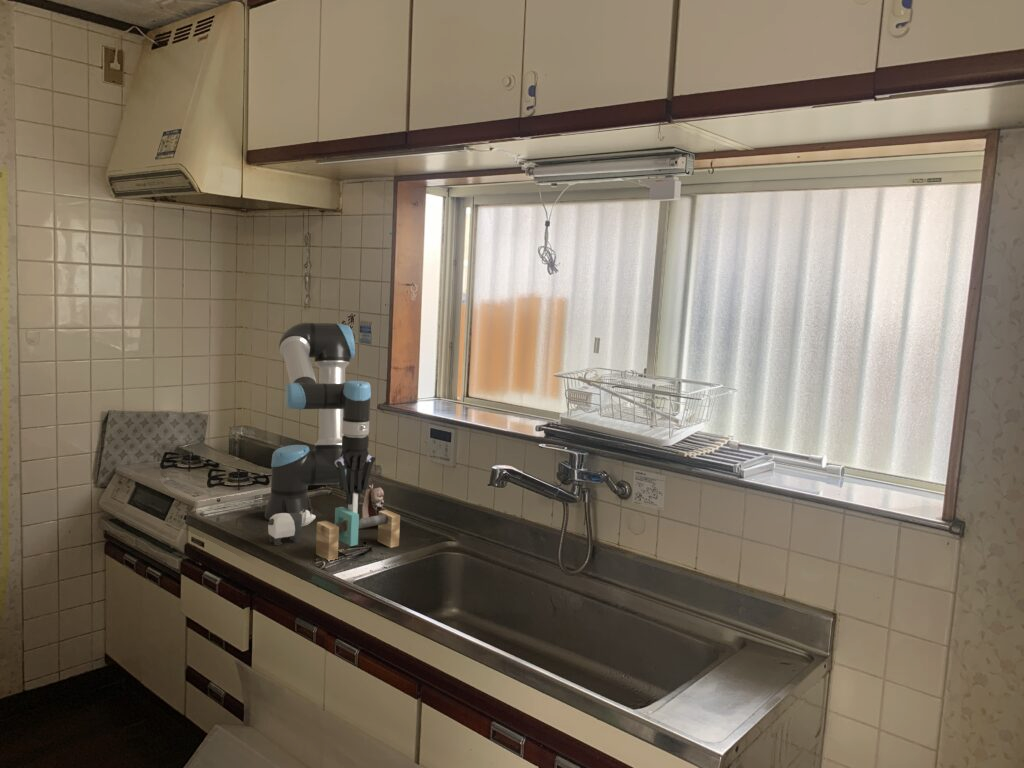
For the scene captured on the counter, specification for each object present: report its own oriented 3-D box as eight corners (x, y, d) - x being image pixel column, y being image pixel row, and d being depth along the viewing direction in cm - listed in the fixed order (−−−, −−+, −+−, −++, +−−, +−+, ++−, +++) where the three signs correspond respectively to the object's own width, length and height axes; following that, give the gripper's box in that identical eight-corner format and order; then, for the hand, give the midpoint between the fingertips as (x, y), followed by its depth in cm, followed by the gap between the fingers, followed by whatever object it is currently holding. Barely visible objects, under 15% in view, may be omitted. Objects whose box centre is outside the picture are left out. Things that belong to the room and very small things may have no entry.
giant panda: (272, 547, 227) (273, 515, 226) (264, 541, 231) (265, 510, 230) (318, 539, 236) (319, 508, 235) (310, 534, 240) (311, 504, 239)
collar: (350, 546, 221) (351, 515, 220) (334, 537, 228) (335, 507, 227) (357, 544, 223) (359, 514, 222) (341, 536, 229) (342, 506, 228)
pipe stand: (328, 561, 218) (329, 527, 217) (315, 554, 223) (316, 521, 222) (398, 545, 235) (400, 514, 233) (385, 539, 240) (387, 508, 238)
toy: (386, 530, 246) (375, 485, 245) (362, 535, 248) (351, 490, 247) (396, 522, 255) (385, 478, 254) (373, 527, 257) (362, 483, 256)
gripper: (342, 439, 216) (339, 521, 219) (382, 435, 225) (378, 514, 228) (328, 434, 221) (326, 514, 224) (367, 430, 230) (364, 508, 233)
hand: (352, 514), depth 226 cm, fingers closed
